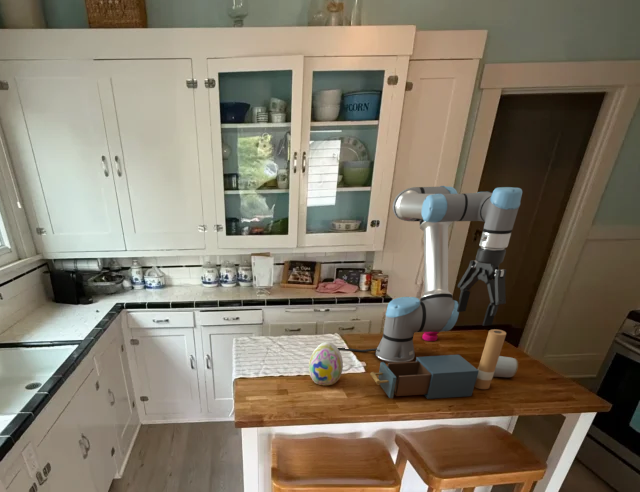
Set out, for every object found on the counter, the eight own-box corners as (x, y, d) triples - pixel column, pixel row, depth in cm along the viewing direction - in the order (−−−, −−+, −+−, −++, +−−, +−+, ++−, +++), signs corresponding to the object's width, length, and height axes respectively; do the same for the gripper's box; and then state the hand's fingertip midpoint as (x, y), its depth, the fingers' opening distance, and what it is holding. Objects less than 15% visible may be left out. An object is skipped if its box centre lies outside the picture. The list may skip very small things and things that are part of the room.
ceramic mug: (514, 381, 154) (521, 361, 150) (490, 379, 155) (496, 360, 151) (506, 369, 163) (512, 350, 159) (483, 367, 164) (488, 349, 160)
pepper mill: (436, 342, 186) (446, 296, 175) (419, 339, 189) (428, 294, 178) (439, 337, 191) (449, 292, 180) (423, 334, 194) (432, 290, 183)
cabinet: (427, 399, 145) (433, 373, 139) (411, 381, 156) (416, 356, 151) (471, 396, 146) (479, 370, 140) (452, 378, 157) (458, 354, 152)
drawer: (377, 399, 144) (380, 378, 139) (365, 382, 154) (368, 362, 150) (430, 395, 145) (435, 375, 141) (416, 379, 155) (420, 359, 151)
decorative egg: (304, 385, 155) (306, 347, 147) (312, 371, 164) (314, 334, 156) (337, 390, 151) (341, 351, 143) (344, 376, 161) (347, 338, 152)
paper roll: (470, 385, 152) (486, 331, 141) (477, 381, 155) (493, 327, 144) (485, 390, 149) (502, 335, 138) (492, 385, 152) (509, 331, 140)
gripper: (456, 241, 135) (441, 307, 147) (510, 257, 115) (488, 332, 127) (477, 239, 136) (461, 305, 148) (534, 255, 116) (510, 330, 128)
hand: (473, 318), depth 137 cm, fingers open, 13 cm apart
